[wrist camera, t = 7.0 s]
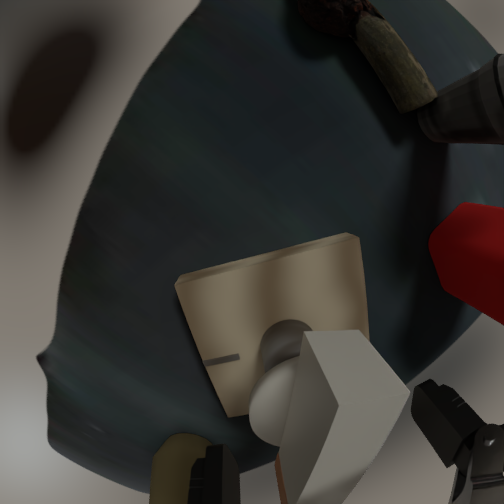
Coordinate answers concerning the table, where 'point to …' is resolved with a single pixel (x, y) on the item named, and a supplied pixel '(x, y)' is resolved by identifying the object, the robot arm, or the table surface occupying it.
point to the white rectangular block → (326, 414)
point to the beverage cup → (468, 108)
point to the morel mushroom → (374, 47)
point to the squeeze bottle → (175, 468)
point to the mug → (472, 256)
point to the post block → (271, 309)
